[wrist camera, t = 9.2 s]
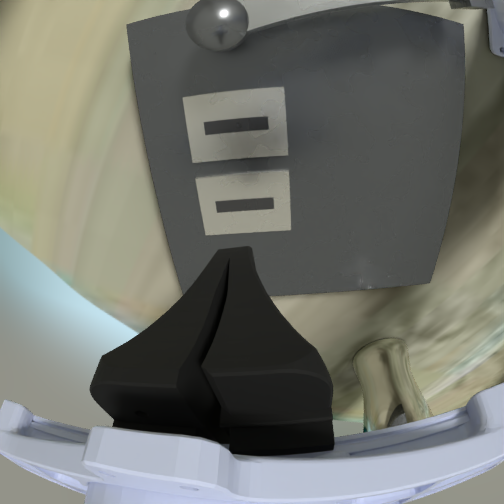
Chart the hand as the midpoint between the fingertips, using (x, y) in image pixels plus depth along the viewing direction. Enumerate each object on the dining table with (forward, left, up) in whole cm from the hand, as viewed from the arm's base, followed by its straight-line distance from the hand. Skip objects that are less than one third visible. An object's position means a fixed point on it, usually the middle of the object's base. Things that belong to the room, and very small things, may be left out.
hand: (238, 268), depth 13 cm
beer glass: (-12, +19, -9) cm, 24 cm away
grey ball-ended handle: (-5, -11, -4) cm, 13 cm away
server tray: (-4, -2, -8) cm, 10 cm away
